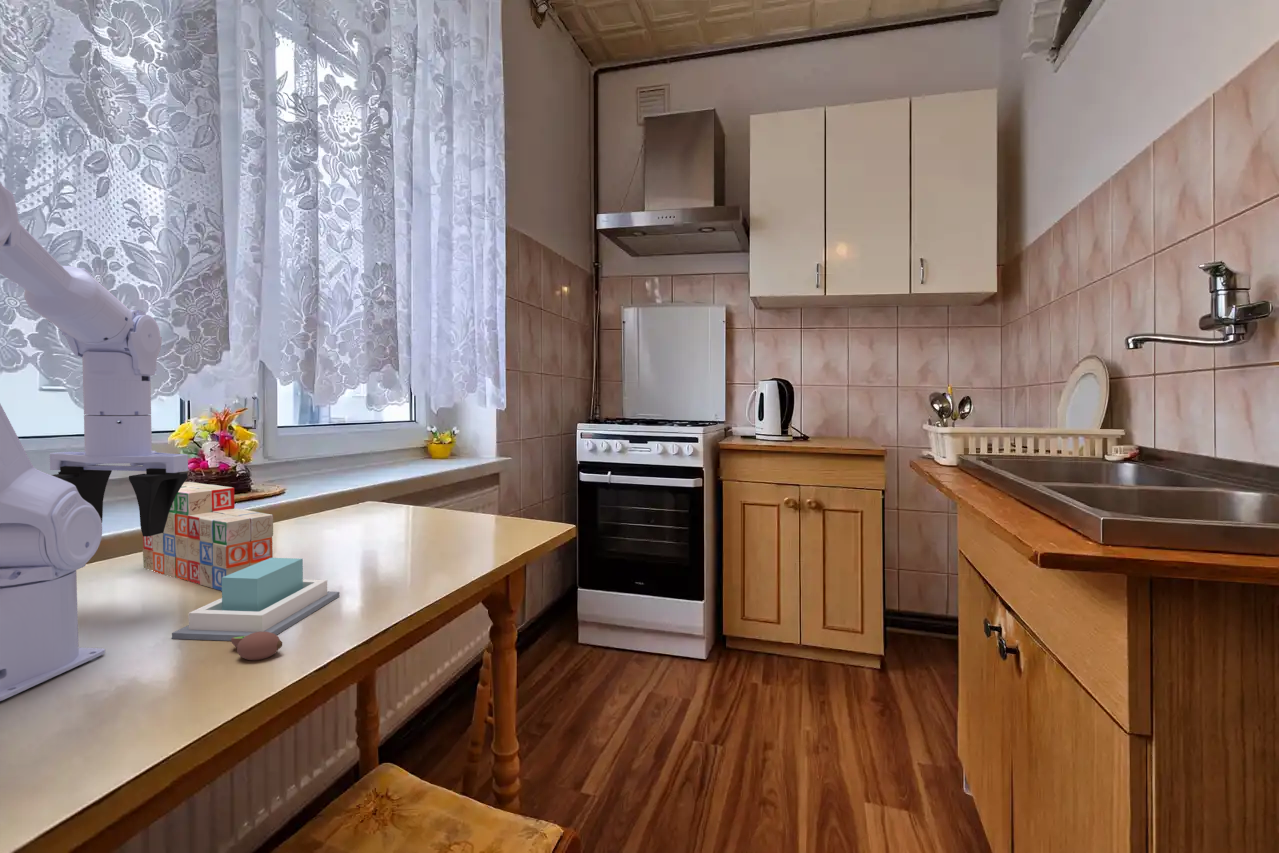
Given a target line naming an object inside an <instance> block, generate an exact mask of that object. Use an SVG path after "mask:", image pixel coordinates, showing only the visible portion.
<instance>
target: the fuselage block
mask: <svg viewBox="0 0 1279 853" xmlns="http://www.w3.org/2000/svg"><path fill="white" fill-rule="evenodd" d="M303 567H304V566H303V558H294V557H293V558H292V557H290V558H289V557H288V558H287V557H273V558H269V559H266V560H264V561H262V562H259V563H257V564H254V565H252V566H249V567H247V568H244V569H242V570H239V571H237V572H234V573H232V574H229V575H227V576H224V577H222V591H221V598H222V610H226V611H256V612H260V611H262V610H263V609H265V608H267V607H269V606H271V605H273V604H275V603H277V602H279V601H280V600H282V599H284V598H286V597H288V596H290V595H292V594H294V593H296V592H297V591H299V590H301V589H303V579H304V576H303V575H304V572H303V571H304V570H303V569H304V568H303Z"/></svg>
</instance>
